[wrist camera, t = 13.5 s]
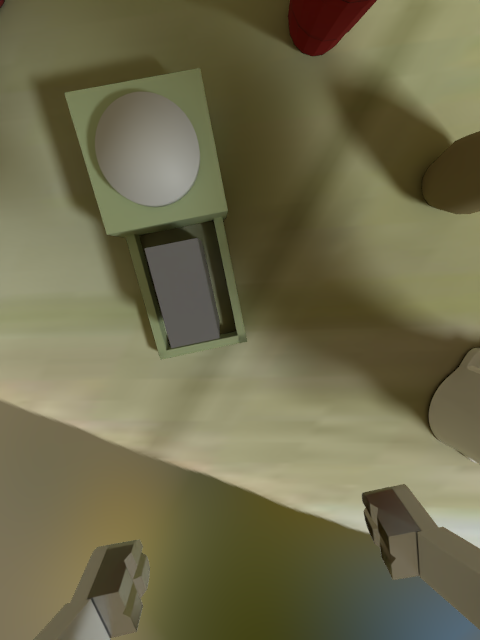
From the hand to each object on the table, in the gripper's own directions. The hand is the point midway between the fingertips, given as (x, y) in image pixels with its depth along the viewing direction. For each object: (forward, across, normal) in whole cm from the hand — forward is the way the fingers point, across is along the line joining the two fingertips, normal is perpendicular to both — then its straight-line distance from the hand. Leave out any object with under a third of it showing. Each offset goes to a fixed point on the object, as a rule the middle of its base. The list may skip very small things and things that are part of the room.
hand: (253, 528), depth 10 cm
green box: (+27, +4, -13) cm, 31 cm away
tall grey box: (+27, +4, -6) cm, 28 cm away
